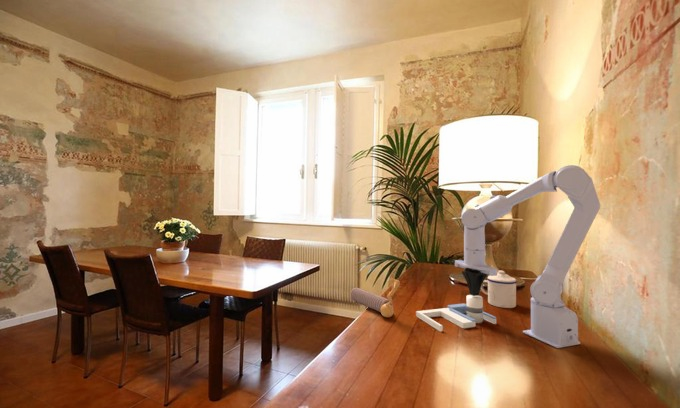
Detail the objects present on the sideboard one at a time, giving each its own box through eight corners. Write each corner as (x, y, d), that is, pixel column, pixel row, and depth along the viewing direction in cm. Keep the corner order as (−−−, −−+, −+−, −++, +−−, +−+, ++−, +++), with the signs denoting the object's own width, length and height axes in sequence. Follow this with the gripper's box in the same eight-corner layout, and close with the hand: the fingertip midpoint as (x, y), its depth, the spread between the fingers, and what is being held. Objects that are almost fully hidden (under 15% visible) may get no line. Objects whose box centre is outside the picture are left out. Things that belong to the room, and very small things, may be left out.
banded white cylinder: (485, 323, 85) (485, 299, 86) (469, 323, 86) (469, 299, 86) (479, 317, 90) (479, 294, 90) (463, 317, 90) (463, 294, 90)
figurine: (382, 312, 95) (382, 274, 95) (401, 313, 93) (401, 275, 93) (378, 321, 87) (377, 280, 87) (399, 323, 85) (398, 281, 85)
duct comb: (496, 323, 85) (496, 316, 85) (440, 331, 80) (440, 323, 80) (466, 309, 97) (466, 303, 97) (415, 315, 91) (415, 308, 91)
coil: (394, 299, 93) (360, 286, 108) (383, 300, 91) (349, 287, 106) (393, 314, 93) (359, 299, 108) (382, 315, 91) (348, 300, 106)
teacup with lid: (521, 305, 102) (521, 271, 102) (510, 310, 97) (509, 274, 97) (486, 296, 112) (486, 266, 112) (474, 301, 106) (474, 269, 106)
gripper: (505, 252, 83) (505, 300, 82) (467, 246, 96) (467, 287, 96) (486, 253, 80) (486, 303, 80) (449, 246, 94) (449, 289, 94)
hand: (474, 295), depth 88 cm, fingers closed
